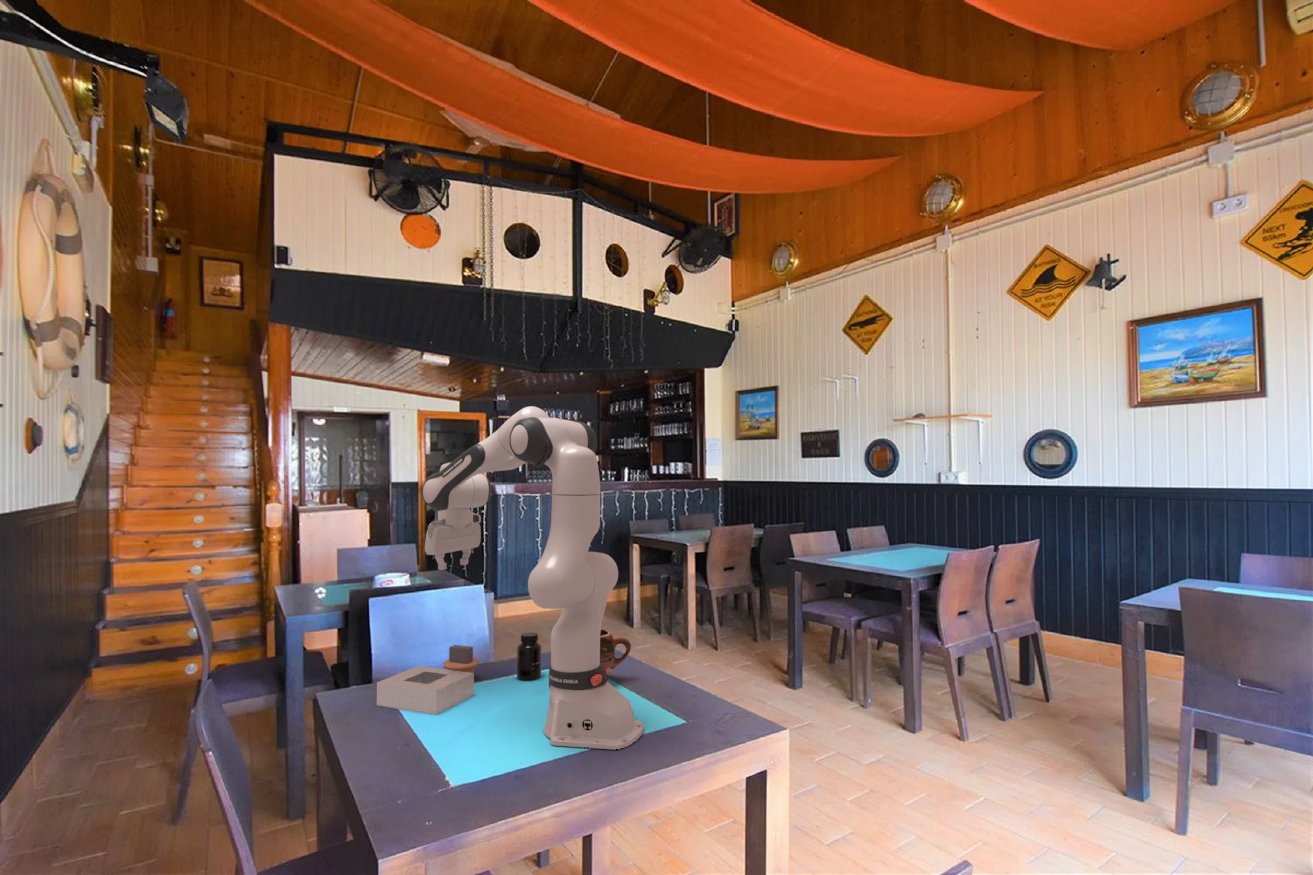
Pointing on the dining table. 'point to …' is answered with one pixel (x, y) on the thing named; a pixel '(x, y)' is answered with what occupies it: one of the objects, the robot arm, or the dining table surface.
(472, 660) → the end cover
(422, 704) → the housing
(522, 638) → the supplement bottle
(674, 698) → the dining table surface
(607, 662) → the brown ceramic cup shape
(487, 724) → the dining table surface
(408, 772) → the dining table surface
